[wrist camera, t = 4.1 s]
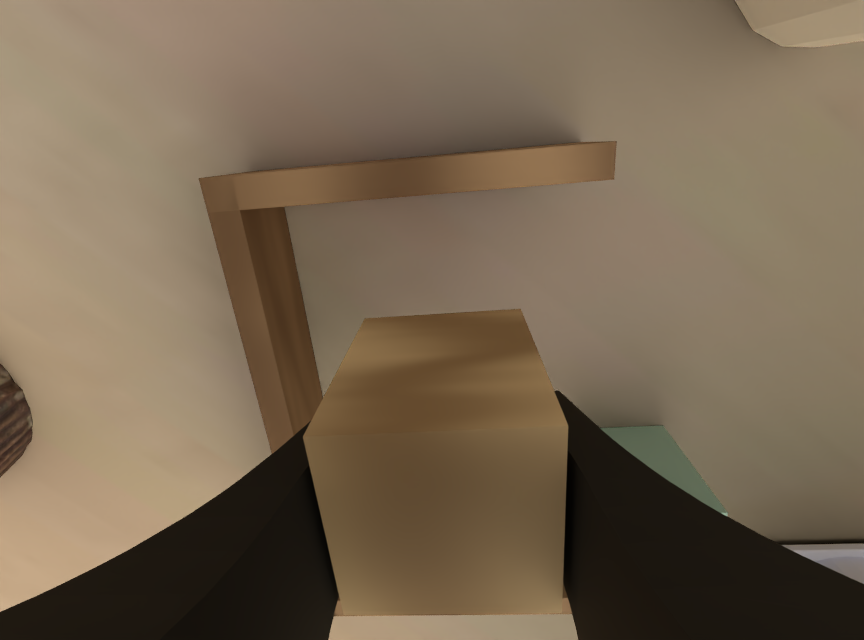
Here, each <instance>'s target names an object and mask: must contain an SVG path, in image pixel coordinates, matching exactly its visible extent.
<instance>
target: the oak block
mask: <svg viewBox="0 0 864 640" xmlns="http://www.w3.org/2000/svg"><path fill="white" fill-rule="evenodd" d="M303 440H304V444H305V448H306V453H307V457H308V461H309V466H310V470H311V474H312V479H313V483H314V488H315V492H316V496H317V501H318V505H319V509H320V514H321V518H322V523H323V527H324V531H325V536H326V540H327V544H328V549H329V553H330V558H331V562H332V566H333V571H334V575H335V579H336V584H337V588H338V593H339V597H340V601H341V606H342V610H343V614H344V615H420V614H519V613H562V597H563V567H564V538H565V508H566V479H567V449H568V424H567V421H566V419H565V416H564V414H563V411H562V409H561V407H560V404H559V402H558V399H557V397H556V394H555V392H554V389H553V387H552V385H551V382H550V380H549V377H548V375H547V372H546V370H545V367H544V365H543V363H542V360H541V358H540V355H539V353H538V350H537V348H536V345H535V343H534V341H533V338H532V336H531V333H530V331H529V328H528V326H527V323H526V321H525V318H524V316H523V314H522V311H521V309H511V310H495V311H479V312H463V313H447V314H430V315H414V316H398V317H382V318H366V319H364V321H363V323H362V325H361V327H360V329H359V331H358V333H357V335H356V336H355V338H354V340H353V342H352V344H351V346H350V348H349V350H348V352H347V354H346V355H345V357H344V359H343V361H342V363H341V365H340V367H339V369H338V371H337V373H336V375H335V376H334V378H333V380H332V382H331V384H330V386H329V388H328V390H327V392H326V394H325V395H324V397H323V399H322V401H321V403H320V405H319V407H318V409H317V411H316V413H315V415H314V416H313V418H312V420H311V422H310V424H309V426H308V428H307V430H306V432H305V434H304V436H303Z"/></svg>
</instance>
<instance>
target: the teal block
mask: <svg viewBox="0 0 864 640" xmlns="http://www.w3.org/2000/svg"><path fill="white" fill-rule="evenodd" d="M600 429H601V430H603V431H604V432H605V433H606V434H607V435H609V436H610V437H611V438H612V439H613V440H615V441H616V442H617V443H618V444H619V445H621V446H622V447H623V448H624V449H626V450H627V451H628V452H630V453H631V454H632V455H634V456H635V457H636V458H638V459H639V460H640V461H642V462H643V463H644V464H646V465H647V466H648V467H650V468H651V469H652V470H654V471H655V472H657V473H658V474H660V475H661V476H662V477H664V478H665V479H667V480H668V481H670V482H671V483H673V484H675V485H676V486H678V487H679V488H681V489H682V490H684V491H686V492H687V493H689V494H690V495H692V496H693V497H695V498H697V499H698V500H700V501H701V502H703V503H705V504H706V505H708V506H710V507H711V508H713V509H715V510H717V511H718V512H720V513H722V514H723V515H725V516H727V514H728V512H727V511H726V510H725V508H724V507H723V506H722V504H721V503H720V502H719V500H718V499H717V498H716V496H715V495H714V494H713V492H712V491H711V490H710V488H709V487H708V486H707V484H706V483H705V481H704V480H703V479H702V477H701V476H700V475H699V473H698V472H697V471H696V469H695V468H694V467H693V465H692V464H691V463H690V461H689V460H688V459H687V457H686V456H685V455H684V453H683V452H682V451H681V449H680V448H679V446H678V445H677V444H676V442H675V441H674V440H673V438H672V437H671V436H670V434H669V433H668V432H667V430H666V429H665V428H664V426H663V425H662V426H638V427H614V428H600Z"/></svg>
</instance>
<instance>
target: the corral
mask: <svg viewBox="0 0 864 640" xmlns="http://www.w3.org/2000/svg"><path fill="white" fill-rule="evenodd" d="M616 142H617V141H609V142H578V143H567V144H556V145H544V146H533V147H522V148H511V149H500V150H488V151H477V152H466V153H455V154H443V155H432V156H421V157H410V158H398V159H387V160H376V161H365V162H354V163H342V164H331V165H320V166H309V167H297V168H286V169H275V170H264V171H252V172H244V173H236V174H229V175H221V176H213V177H205V178H199V181H200V185H201V189H202V193H203V196H204V200H205V204H206V208H207V211H208V215H209V219H210V223H211V226H212V230H213V234H214V238H215V241H216V245H217V249H218V253H219V256H220V260H221V264H222V268H223V271H224V275H225V279H226V283H227V286H228V290H229V294H230V298H231V301H232V305H233V309H234V313H235V316H236V320H237V324H238V328H239V331H240V335H241V339H242V343H243V347H244V350H245V354H246V358H247V362H248V365H249V369H250V373H251V377H252V380H253V384H254V388H255V392H256V395H257V399H258V403H259V407H260V410H261V414H262V418H263V422H264V425H265V429H266V433H267V437H268V440H269V444H270V448H271V452H272V454H273V453H274V452H275V451H277V450H278V449H279V448H280V447H281V446H282V445H284V444H285V443H286V442H287V441H288V440H289V439H290V438H292V437H293V436H294V435H295V434H296V433H297V432H298V431H300V430H301V429H302V428H303V427H304V426H305V425H306V424H308V423H309V422H310V421H311V420H312V418H313V416H314V415H315V413H316V411H317V409H318V407H319V405H320V403H321V401H322V399H323V397H322V392H321V387H320V382H319V377H318V372H317V367H316V362H315V357H314V352H313V347H312V343H311V338H310V333H309V328H308V323H307V318H306V313H305V308H304V303H303V298H302V293H301V288H300V283H299V279H298V274H297V269H296V264H295V259H294V254H293V249H292V244H291V239H290V234H289V229H288V224H287V219H286V214H285V210H284V207H285V206H297V205H309V204H321V203H333V202H345V201H357V200H370V199H382V198H394V197H406V196H418V195H430V194H443V193H455V192H467V191H479V190H491V189H503V188H515V187H528V186H540V185H552V184H564V183H576V182H588V181H601V180H613V179H614V172H615V157H616ZM519 614H572V611H571V607H570V604H569V600H568V597H567V594H566V591H565V587H564V584H563V597H562V613H519ZM420 615H510V614H420ZM334 616H402V615H344V614H343V610H342V606H341V601H340V597H339V598H338V601H337V605H336V608H335V612H334Z"/></svg>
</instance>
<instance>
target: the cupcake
mask: <svg viewBox="0 0 864 640" xmlns="http://www.w3.org/2000/svg"><path fill="white" fill-rule="evenodd" d="M32 425H33V422H32V417H31V412H30V408H29V406H28V404H27V401H26V399H25V396H24V393H23V390H22V389H21V388H20V387H19V386H18V385H17V384H16V383H15V382H14V381H13V379H12V378H11V376H10V374H9V373H8V372H7V370H6V369H5V368H4V367H3V366H2V365H1V364H0V477H1V476H2V475H3V474H4V473H5V472H6V471H7V470H8V469H9V468H10V467H11V466H12V465H13V464H14V463H15V462H16V461H17V460H18V459H19V458H20V457H21V456H22V455H23V453H24V451H25V449H26V447H27V445H28V444H29V443H30V441H31V440H32Z"/></svg>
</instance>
